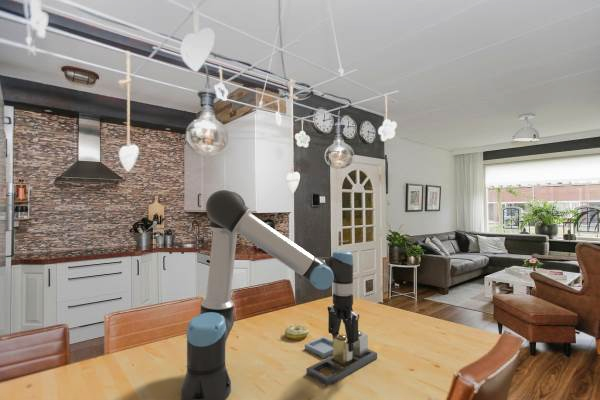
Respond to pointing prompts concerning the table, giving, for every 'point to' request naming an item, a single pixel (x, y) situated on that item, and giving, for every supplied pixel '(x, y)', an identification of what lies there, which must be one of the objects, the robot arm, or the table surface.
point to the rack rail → (338, 368)
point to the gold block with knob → (340, 351)
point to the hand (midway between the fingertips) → (342, 356)
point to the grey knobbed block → (361, 345)
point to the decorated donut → (296, 332)
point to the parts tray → (321, 347)
